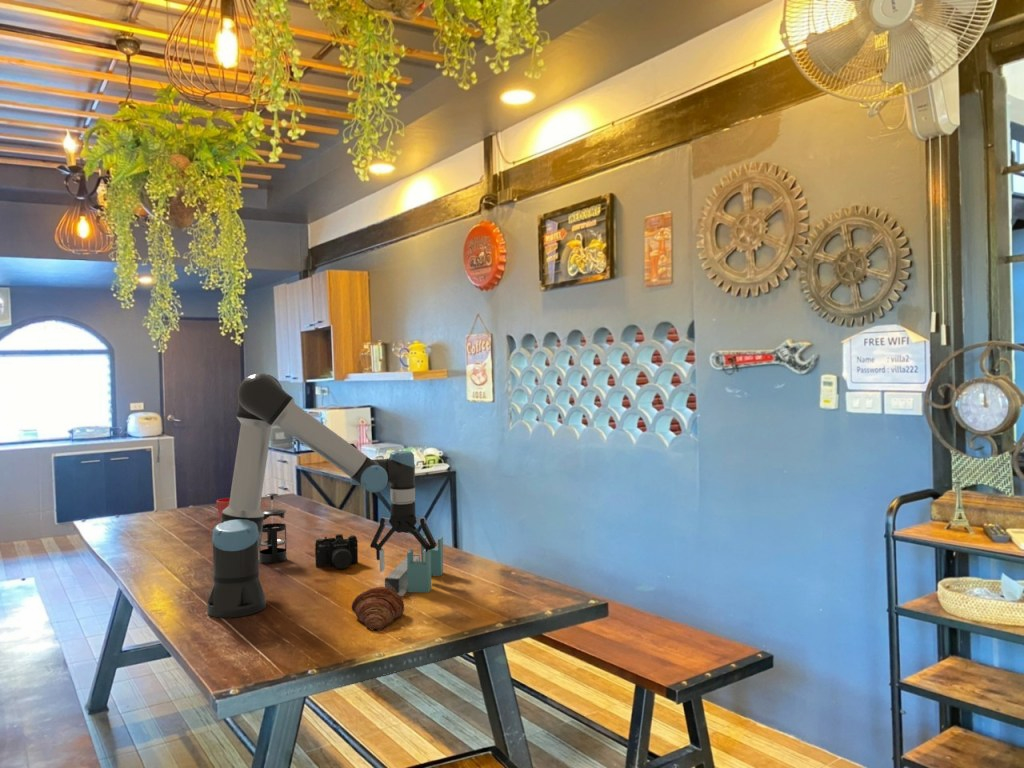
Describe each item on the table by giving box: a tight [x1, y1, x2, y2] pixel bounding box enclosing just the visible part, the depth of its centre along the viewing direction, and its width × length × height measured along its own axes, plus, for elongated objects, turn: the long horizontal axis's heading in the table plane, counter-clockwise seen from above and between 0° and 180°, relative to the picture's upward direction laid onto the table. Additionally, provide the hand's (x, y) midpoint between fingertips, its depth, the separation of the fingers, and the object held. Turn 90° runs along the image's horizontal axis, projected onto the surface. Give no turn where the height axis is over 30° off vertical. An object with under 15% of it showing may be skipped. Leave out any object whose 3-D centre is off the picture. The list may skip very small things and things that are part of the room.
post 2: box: [420, 535, 444, 577], centre depth 239 cm, size 4×6×12 cm, turn 84°
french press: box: [258, 493, 288, 565], centre depth 259 cm, size 12×9×23 cm
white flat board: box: [397, 583, 408, 597], centre depth 231 cm, size 30×7×1 cm, turn 174°
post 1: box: [406, 549, 432, 593], centre depth 221 cm, size 4×6×12 cm, turn 84°
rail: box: [384, 554, 421, 593], centre depth 231 cm, size 28×4×4 cm, turn 174°
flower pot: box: [216, 497, 230, 522], centre depth 329 cm, size 11×11×10 cm
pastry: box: [351, 586, 405, 631], centre depth 197 cm, size 17×15×8 cm
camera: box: [314, 533, 359, 570], centre depth 249 cm, size 14×11×10 cm
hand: (403, 570), depth 231 cm, fingers open, 13 cm apart
